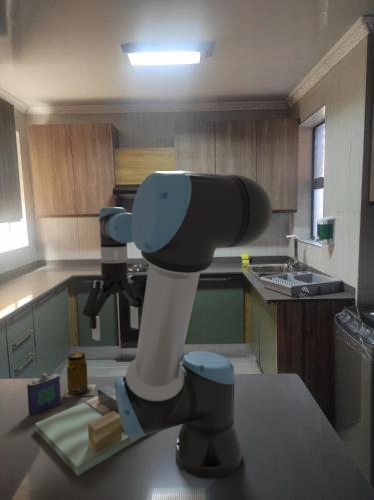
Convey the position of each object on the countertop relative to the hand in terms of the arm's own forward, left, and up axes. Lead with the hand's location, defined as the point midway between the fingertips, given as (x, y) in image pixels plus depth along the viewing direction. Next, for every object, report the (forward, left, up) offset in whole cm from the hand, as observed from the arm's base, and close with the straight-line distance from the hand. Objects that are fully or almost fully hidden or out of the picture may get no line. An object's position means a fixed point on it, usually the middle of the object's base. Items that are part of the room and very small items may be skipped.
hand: (116, 333), depth 97 cm
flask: (+12, +17, -21) cm, 29 cm away
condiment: (+14, +5, -21) cm, 26 cm away
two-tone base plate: (-7, +11, -21) cm, 25 cm away
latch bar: (-7, +5, -18) cm, 20 cm away
